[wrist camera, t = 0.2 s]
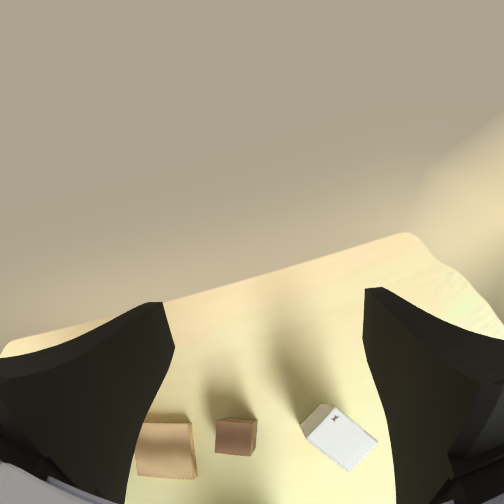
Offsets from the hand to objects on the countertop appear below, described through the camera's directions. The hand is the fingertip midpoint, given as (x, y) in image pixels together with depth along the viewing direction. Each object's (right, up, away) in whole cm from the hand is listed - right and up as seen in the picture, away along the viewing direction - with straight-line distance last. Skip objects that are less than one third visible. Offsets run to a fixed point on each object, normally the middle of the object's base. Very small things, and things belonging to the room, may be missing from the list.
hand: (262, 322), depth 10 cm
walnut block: (-2, -21, +24) cm, 32 cm away
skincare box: (+9, -20, +23) cm, 32 cm away
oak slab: (-12, -25, +24) cm, 36 cm away
